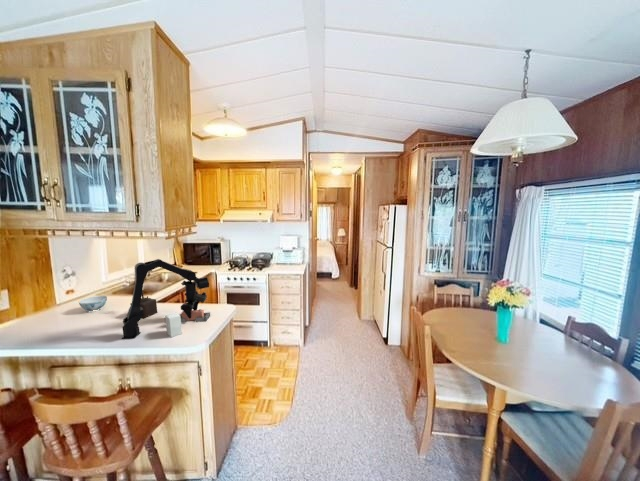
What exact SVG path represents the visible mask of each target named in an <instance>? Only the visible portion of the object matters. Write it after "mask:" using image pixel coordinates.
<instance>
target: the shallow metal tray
mask: <svg viewBox="0 0 640 481" xmlns="http://www.w3.org/2000/svg"><path fill="white" fill-rule="evenodd" d="M179 315H180V317H181V324H185V323H187V322H188V321H189V320H187V321H186V318H182V315H181V313H180V314H179ZM210 318H211V312H204V317H196V320H195V322H196V323H201V322H208V321H209V320H208V319H210Z"/></svg>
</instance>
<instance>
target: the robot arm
mask: <svg viewBox="0 0 640 481" xmlns="http://www.w3.org/2000/svg"><path fill="white" fill-rule="evenodd" d="M157 268H160V269H163V270H166V271H169V272H171V273H175V275H179V276H180V277H182V278H184V279H185V280H183V281H182V282H181V285H182V286H184V288H185V293H184V296H185V298H186V299H185V301H184V303H183V304H181V305H180V310H182V312H183V311H184V312H185V313H186V315H187V316H188V318H191V314H192V310H198V307H199V303H202V304H203V303H205V302H206V300H207V298H208V297H207V296H208V295H207V293H206V292H205V291H204V292H202V293H199V291H198V290H203V289H208V288H209V287H210V282H209V279H208V277H207V276H204V277H201V278H200V277H197V274H196V272H194V271H193V270H190V269H186V268H181V267H178V266H176V265H174V264H171V263H169V262H166V261H164V260H162V259H160V258H157V259H153V260H149V261H146V262H138V263H136V264H135V265H134V277H135V279H134V280H135V281H134V286H133V293H132V299H131V303H132V304H131V305H130V307H128V311H127V314H126V316H125V318H124V319H123V320H122V324H123V326H122V334H123V336H122V337H121V340H129V339H135V338H136V337H138V336H139V335H140V334H141V331H140V330H141V329H140V326H139V324H138V322H140V321H141V319H142V318H141V317H142V313H143V308H142V307H140V302H141V298H142V290H143V289H144V283H145V279H146V278H147V275H148V273H149V272H150V271H153V270H155V269H157ZM186 280H187V281H186ZM197 289H198V290H197ZM143 291H144V290H143Z"/></svg>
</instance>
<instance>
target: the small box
mask: <svg viewBox="0 0 640 481" xmlns="http://www.w3.org/2000/svg"><path fill="white" fill-rule="evenodd" d="M164 316H165V325H166V334H167V335H169V337H170V338H174V337H177V336H180V335H182V334H183V330H182V329H183V328H182V327H183V326H182V323H181V317H180V314H178V313H177V312H172V313H168V314H165V315H164Z"/></svg>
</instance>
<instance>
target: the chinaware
mask: <svg viewBox="0 0 640 481" xmlns="http://www.w3.org/2000/svg"><path fill="white" fill-rule="evenodd" d="M107 301H108V296H106V295H98V296H97V295H96V296H91V297H86V298H84V299H80V300H79V301H78V305H79V306H80V307H81V308H82V309H83V310H84V311H85V310H86V311H87V312H88V311H93V310H98V309H100V308H101V309H102V308H103V307H104V306H105V305H106V303H107ZM101 309H100V310H101ZM98 311H99V310H98Z"/></svg>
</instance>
